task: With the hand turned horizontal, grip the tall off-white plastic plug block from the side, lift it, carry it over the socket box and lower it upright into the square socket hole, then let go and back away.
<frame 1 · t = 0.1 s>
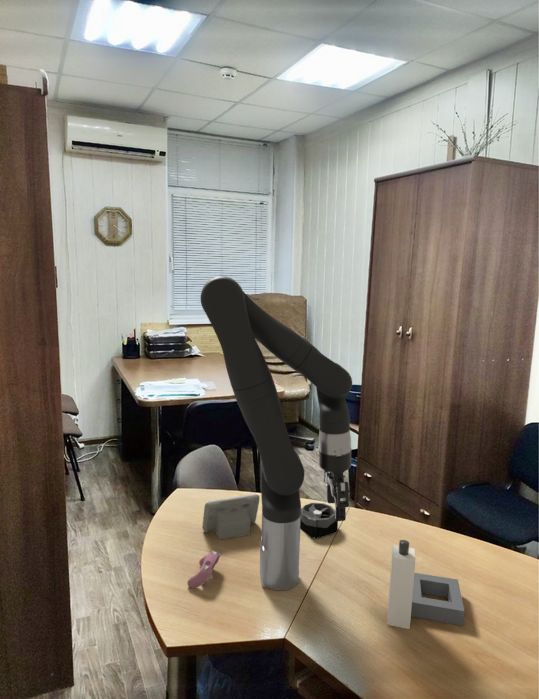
hand: (336, 511, 119), 17 cm above the table, fingers open, 8 cm apart
plug: (398, 619, 108), on the table
pink curved piece: (205, 578, 121), on the table
digital clock: (231, 530, 142), on the table
socket: (434, 604, 113), on the table
cpu cooler: (317, 529, 144), on the table
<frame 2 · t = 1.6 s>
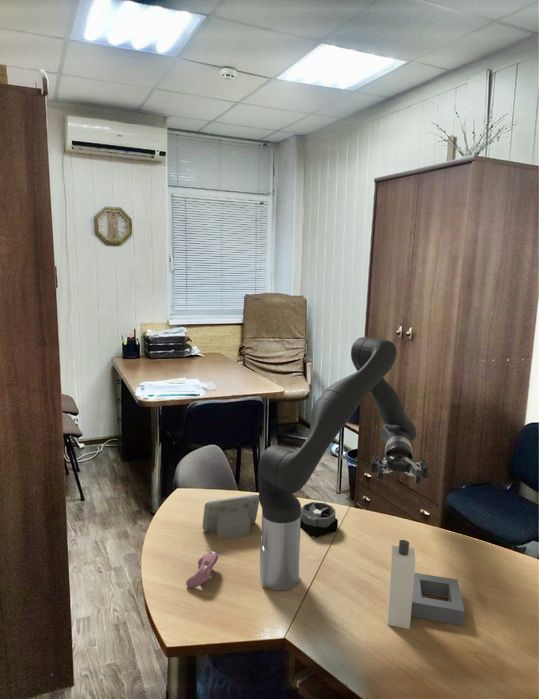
hand: (399, 478, 122), 24 cm above the table, fingers open, 8 cm apart
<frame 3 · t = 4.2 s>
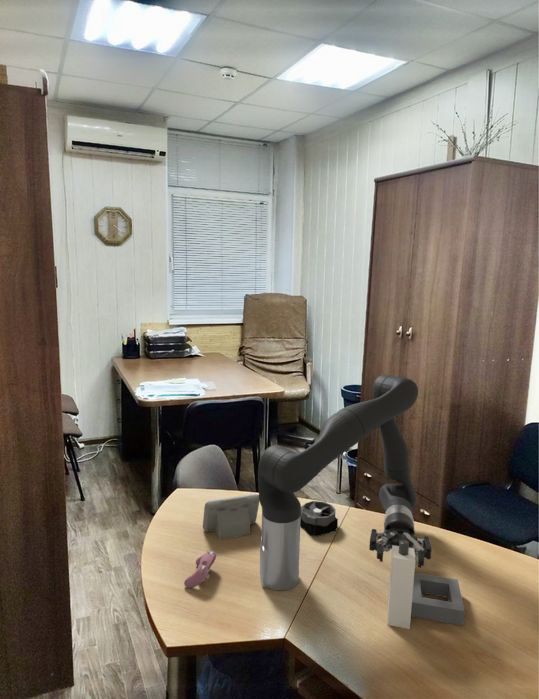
hand: (400, 561, 113), 10 cm above the table, fingers open, 8 cm apart
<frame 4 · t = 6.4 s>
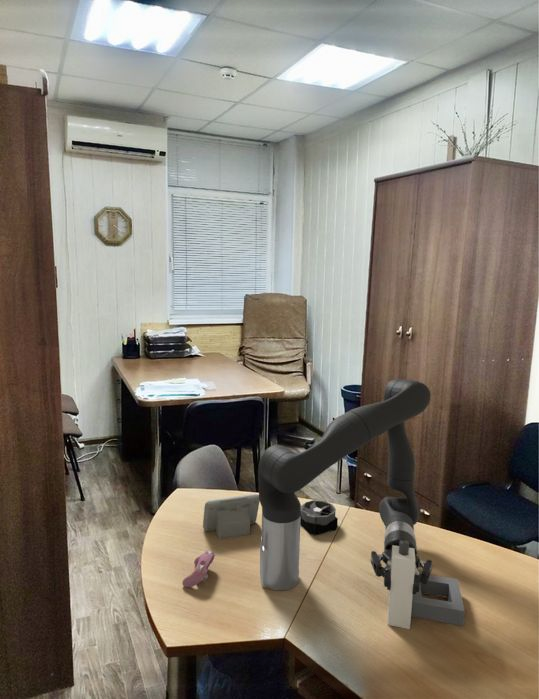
hand: (401, 588, 103), 10 cm above the table, fingers closed on plug, 4 cm apart
plug: (398, 619, 108), on the table, touching gripper
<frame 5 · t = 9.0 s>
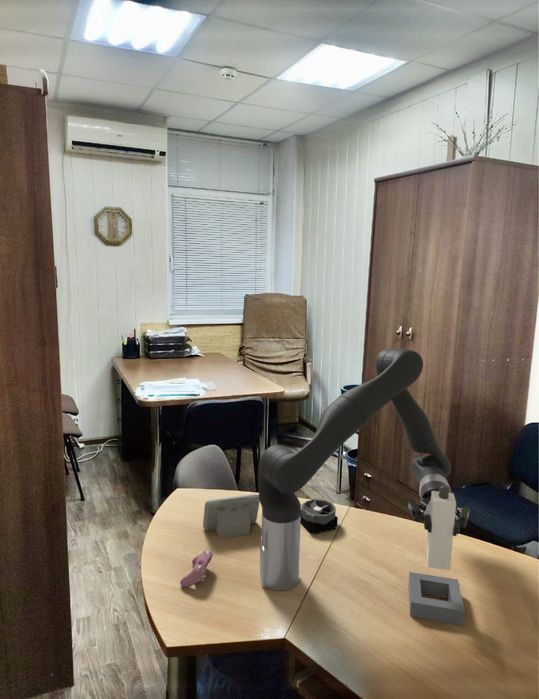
hand: (442, 530, 107), 20 cm above the table, fingers closed on plug, 4 cm apart
plug: (437, 562, 111), point 10 cm above the table, touching gripper
when the fingers open (10 cm above the table, at t = 11.7 s): plug stays where it is, resting in socket.
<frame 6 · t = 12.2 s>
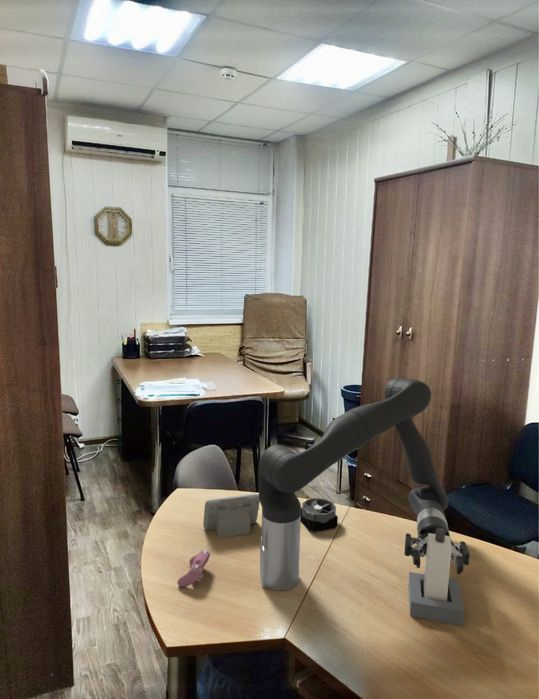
hand: (438, 567, 109), 11 cm above the table, fingers open, 8 cm apart
plug: (434, 604, 113), resting in socket
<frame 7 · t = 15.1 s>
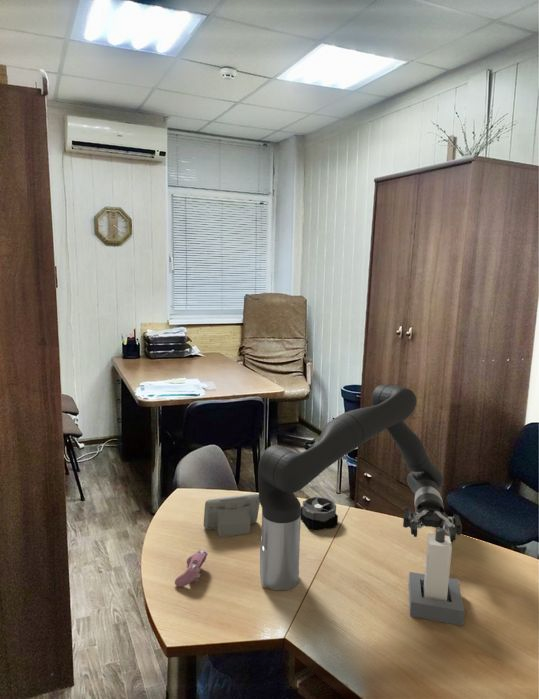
hand: (433, 536, 121), 11 cm above the table, fingers open, 8 cm apart
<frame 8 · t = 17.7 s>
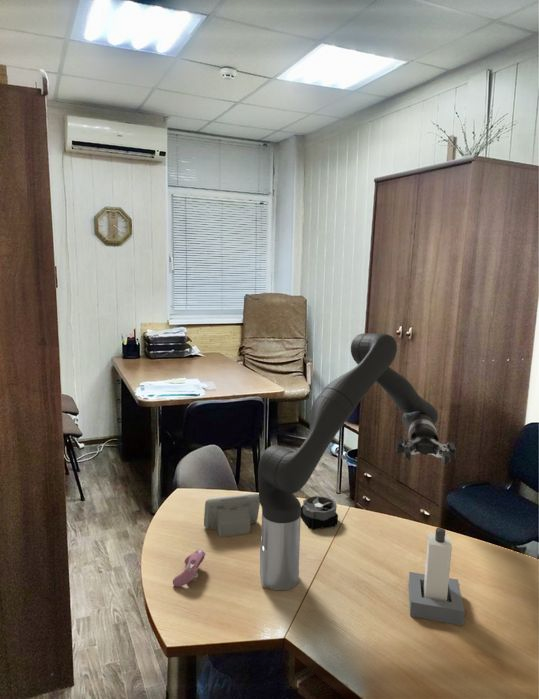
hand: (427, 458, 119), 30 cm above the table, fingers open, 8 cm apart
at the end: plug 0.0 cm off-centre on the socket, point 0.0 cm above the socket's base; plug tilted 0°; the gripper is holding nothing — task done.
